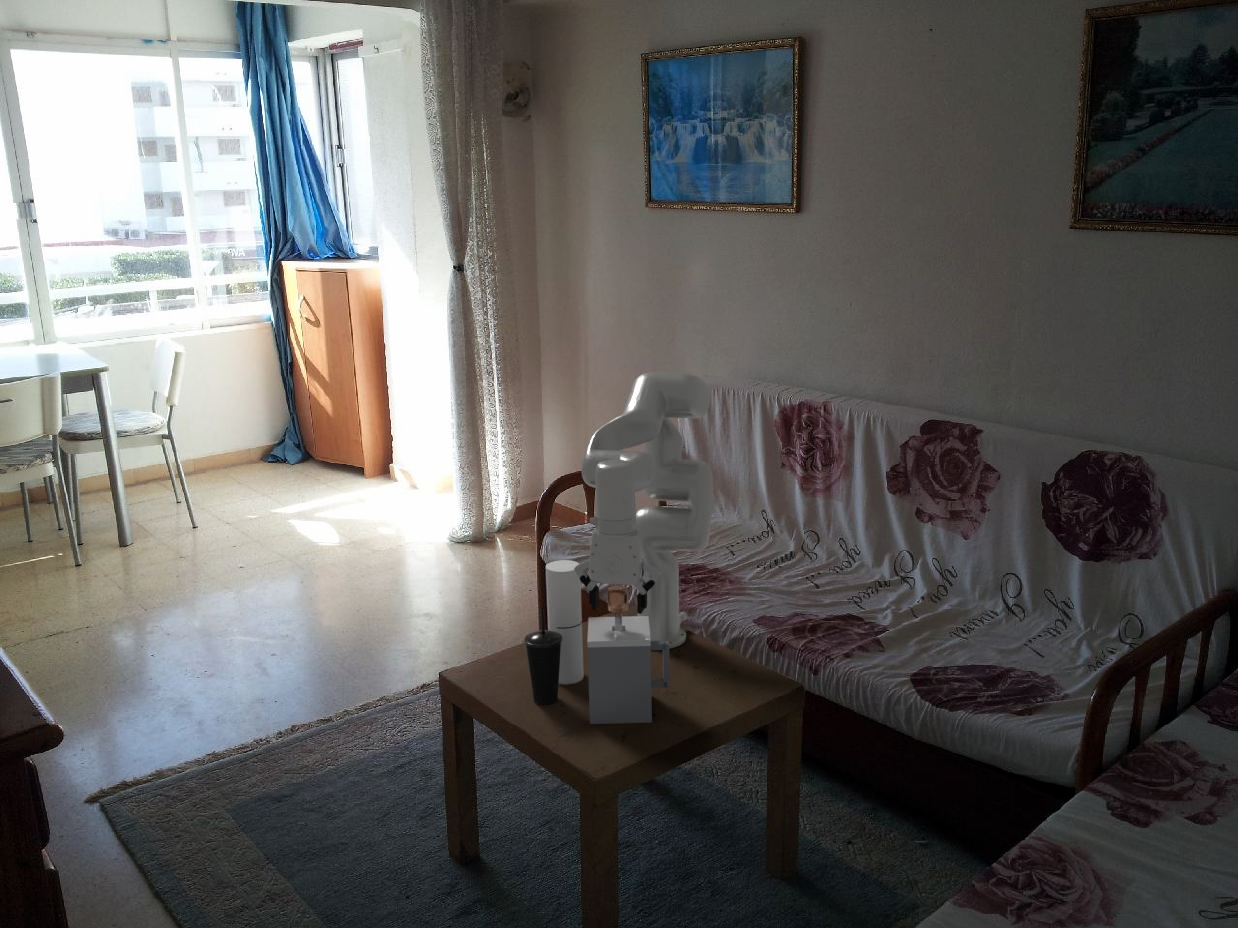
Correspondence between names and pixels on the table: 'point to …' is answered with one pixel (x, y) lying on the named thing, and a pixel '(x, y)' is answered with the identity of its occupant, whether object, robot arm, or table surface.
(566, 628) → the cylindrical container
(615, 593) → the copper piston
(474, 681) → the table surface
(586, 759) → the table surface
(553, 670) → the drinking cup
